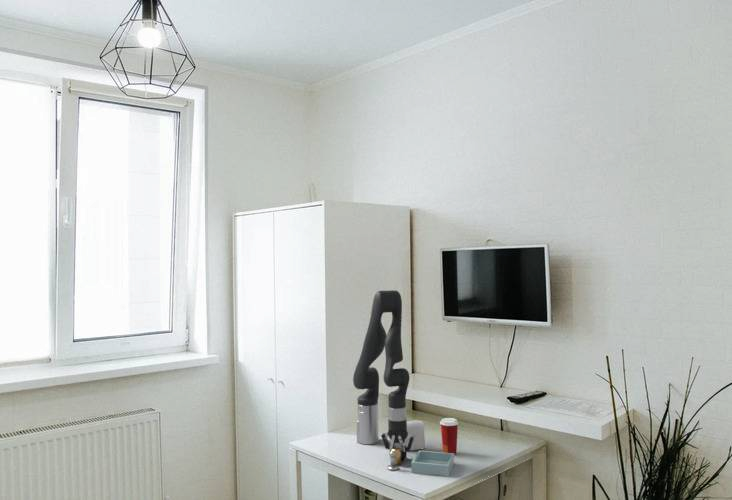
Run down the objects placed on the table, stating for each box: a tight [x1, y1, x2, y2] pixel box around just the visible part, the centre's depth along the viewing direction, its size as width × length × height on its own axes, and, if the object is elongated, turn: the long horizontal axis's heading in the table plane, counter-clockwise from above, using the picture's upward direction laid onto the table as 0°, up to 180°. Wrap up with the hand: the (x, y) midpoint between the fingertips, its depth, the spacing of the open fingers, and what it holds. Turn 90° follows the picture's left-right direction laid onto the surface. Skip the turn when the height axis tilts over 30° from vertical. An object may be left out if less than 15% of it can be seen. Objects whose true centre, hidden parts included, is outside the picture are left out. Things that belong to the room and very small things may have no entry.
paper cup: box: [439, 417, 459, 456], centre depth 245 cm, size 8×8×14 cm
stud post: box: [386, 451, 400, 472], centre depth 228 cm, size 4×4×7 cm
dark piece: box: [391, 443, 404, 467], centre depth 236 cm, size 4×10×6 cm, turn 162°
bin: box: [410, 449, 455, 477], centre depth 228 cm, size 14×14×4 cm
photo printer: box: [405, 419, 426, 452], centre depth 251 cm, size 10×4×12 cm, turn 107°
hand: (398, 459), depth 236 cm, fingers closed on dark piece, 4 cm apart
